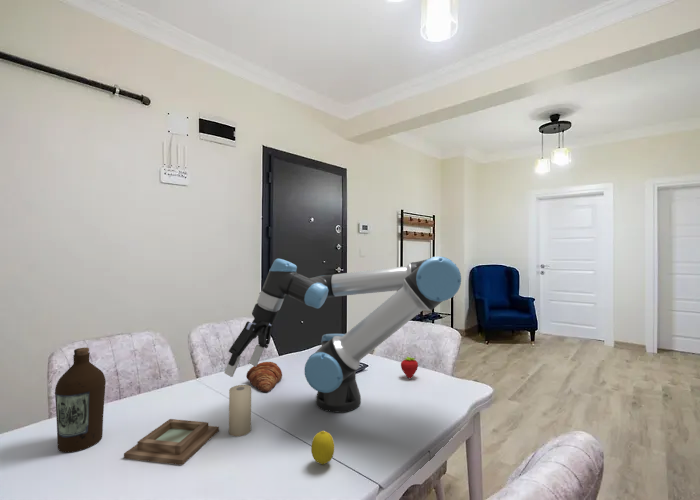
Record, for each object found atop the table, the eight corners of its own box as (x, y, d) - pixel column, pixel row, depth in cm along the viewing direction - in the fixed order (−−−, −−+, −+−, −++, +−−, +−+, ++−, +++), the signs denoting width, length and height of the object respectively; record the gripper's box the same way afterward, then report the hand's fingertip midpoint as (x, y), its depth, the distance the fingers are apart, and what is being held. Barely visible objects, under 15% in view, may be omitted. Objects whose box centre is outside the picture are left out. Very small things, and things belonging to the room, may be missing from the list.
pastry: (294, 381, 136) (294, 361, 136) (266, 394, 123) (266, 372, 123) (264, 373, 145) (264, 354, 145) (235, 384, 132) (235, 364, 132)
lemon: (311, 458, 85) (311, 425, 85) (333, 457, 85) (334, 424, 85) (310, 472, 79) (311, 437, 79) (334, 471, 80) (334, 436, 80)
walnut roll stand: (218, 430, 98) (218, 419, 98) (182, 465, 82) (182, 451, 82) (168, 426, 100) (168, 415, 100) (123, 458, 84) (123, 445, 84)
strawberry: (397, 377, 140) (397, 353, 140) (412, 374, 143) (412, 350, 143) (406, 382, 135) (406, 356, 135) (421, 379, 138) (421, 354, 138)
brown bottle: (69, 434, 95) (70, 344, 95) (112, 430, 98) (112, 342, 98) (44, 457, 85) (45, 356, 85) (93, 451, 87) (94, 353, 87)
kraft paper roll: (254, 426, 100) (254, 385, 100) (245, 437, 94) (245, 393, 94) (235, 424, 101) (235, 383, 101) (224, 435, 95) (225, 391, 95)
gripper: (275, 300, 120) (252, 356, 120) (235, 303, 96) (205, 373, 96) (293, 309, 118) (270, 366, 118) (257, 315, 94) (227, 386, 94)
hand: (241, 369), depth 107 cm, fingers open, 13 cm apart
